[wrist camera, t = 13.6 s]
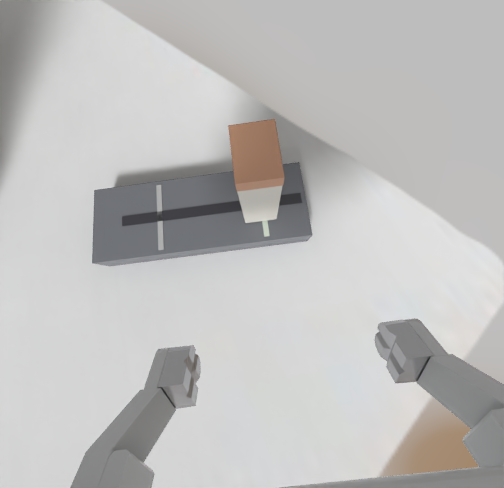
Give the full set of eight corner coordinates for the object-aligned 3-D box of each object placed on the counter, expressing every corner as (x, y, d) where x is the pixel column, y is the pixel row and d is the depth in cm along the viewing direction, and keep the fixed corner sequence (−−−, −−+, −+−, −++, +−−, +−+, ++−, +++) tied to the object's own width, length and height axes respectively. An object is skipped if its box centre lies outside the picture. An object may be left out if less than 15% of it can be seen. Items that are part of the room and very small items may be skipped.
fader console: (109, 266, 29) (91, 263, 26) (110, 200, 30) (93, 189, 27) (307, 240, 28) (312, 234, 25) (295, 175, 30) (299, 161, 27)
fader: (245, 224, 25) (235, 184, 16) (240, 185, 26) (228, 125, 17) (276, 220, 25) (284, 177, 16) (270, 181, 26) (274, 119, 17)
